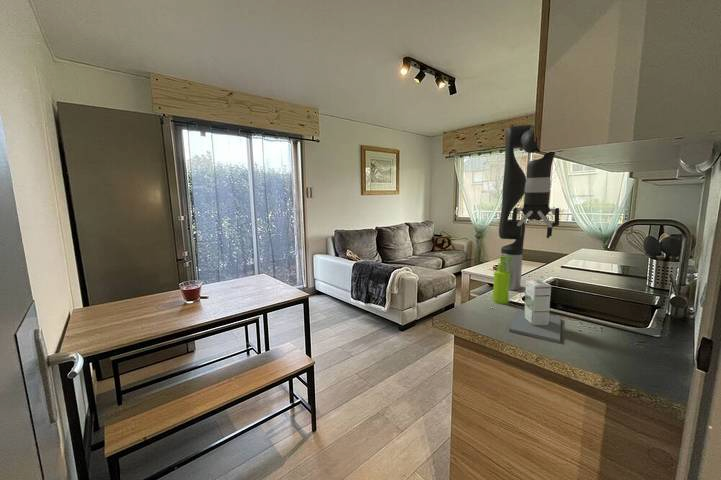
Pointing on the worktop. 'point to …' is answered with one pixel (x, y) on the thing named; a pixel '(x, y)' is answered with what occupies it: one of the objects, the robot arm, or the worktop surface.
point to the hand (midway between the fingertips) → (533, 237)
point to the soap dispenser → (501, 282)
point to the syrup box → (537, 302)
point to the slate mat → (537, 327)
